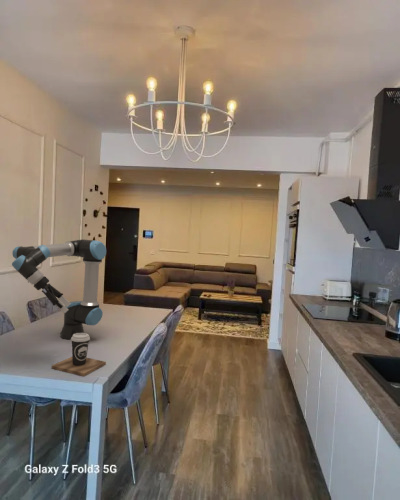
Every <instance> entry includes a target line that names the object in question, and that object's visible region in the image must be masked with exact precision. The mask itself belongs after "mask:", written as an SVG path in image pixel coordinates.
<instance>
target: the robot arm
mask: <svg viewBox="0 0 400 500" xmlns="http://www.w3.org/2000/svg"><path fill="white" fill-rule="evenodd" d="M11 254H12V257H13V258H14V261H12V263H11V266H12V267H13V269H15V270H16V271H17V272H18V273H19V274H20V275H21V276H22V277H23V278H24V279H25V280H26V281H27V283H30V284H31V285H32V286H33V287H34V288H35V289H36V290H37V291H40V290H41V292H42V294H44V295H45V297H46V298H47V299H48V300H49V301H50V303H51V304H52V306H53V307H57V308H58V309H59V310H60V311H61V312H62V313H63V316H64V317H63V326H62V329H61V331H60V336H59V338H60V339H63V340H64V339H65V340H71V338H72V336H73V334H76V333H86V332H85V330H84V326H83V324H84V325H86V326H96V325H98V324H99V322H101V320H102V318H103V312H104V311H103V310H102V308H100V303H99V301H98V293H99V292H98V290H99V288H98V287H99V274H100V273H99V271H100V264H101V263H103V262H102V261H103V260H104V259H105V257H106V256H107V247H106V245H105V244H104V243H103V242H102V241H100V240H97V239H95V240H93V239H92V240H91V239H84V238H83V239H75V240H70V241H69V240H68V241H65V242H64V243H53V244H52V243H51V244H40V245H31V246H22V245H21V246H16V247H14V248H13V250H12V253H11ZM64 256H67V257H78V258H82V262H83V263H84V278H83V279H84V280H83V296H82V300H77V301H76V300H75V301H69V300H68V299H66V298H65V297H64V293H62V292H61V291H59V290H58V289H57V288H55V287H54V286H53V285H51V283H49V282H50V279H49V278H47V277H46V276H44V274H43V272H41V271H40V269H38V267H39V266H40V265H41V264H43V262H44V261H46V260H47V259H49V258H54V257H64Z"/></svg>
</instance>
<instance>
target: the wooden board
mask: <svg viewBox="0 0 400 500" xmlns="http://www.w3.org/2000/svg"><path fill="white" fill-rule="evenodd" d="M106 364H107V362H106V361H104V360H100V359H95V358H90V357H86V363H85V364H84V365H80V366H76V365H73V360H72V356H70V357H68V358H66V359H63V360H61V361H60V362H59V361H58V362H57V363H54V364H52V365H51V369H52V370H56V371H60V372H64V373H67V374H68V373H69V374H71V375H72V374H73V375H76V376H79V377H80V376H81V377H86V376H87V375H89V374H91V373H93V372H95V371H97V370H99V369H100V368H102V367H105V366H106Z"/></svg>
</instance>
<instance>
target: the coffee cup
mask: <svg viewBox="0 0 400 500" xmlns="http://www.w3.org/2000/svg"><path fill="white" fill-rule="evenodd" d="M90 337H91V336H90V335H89V334H88V333H87V332H85V333H76V334H73V336H72V338H71V339H70V341H71V354H72V355H71V357H72V360H73V365H76V366H80V365H84V364H85V363H86V358H88V357H87V356H88V350H89V343H90V340H91V338H90Z"/></svg>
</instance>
